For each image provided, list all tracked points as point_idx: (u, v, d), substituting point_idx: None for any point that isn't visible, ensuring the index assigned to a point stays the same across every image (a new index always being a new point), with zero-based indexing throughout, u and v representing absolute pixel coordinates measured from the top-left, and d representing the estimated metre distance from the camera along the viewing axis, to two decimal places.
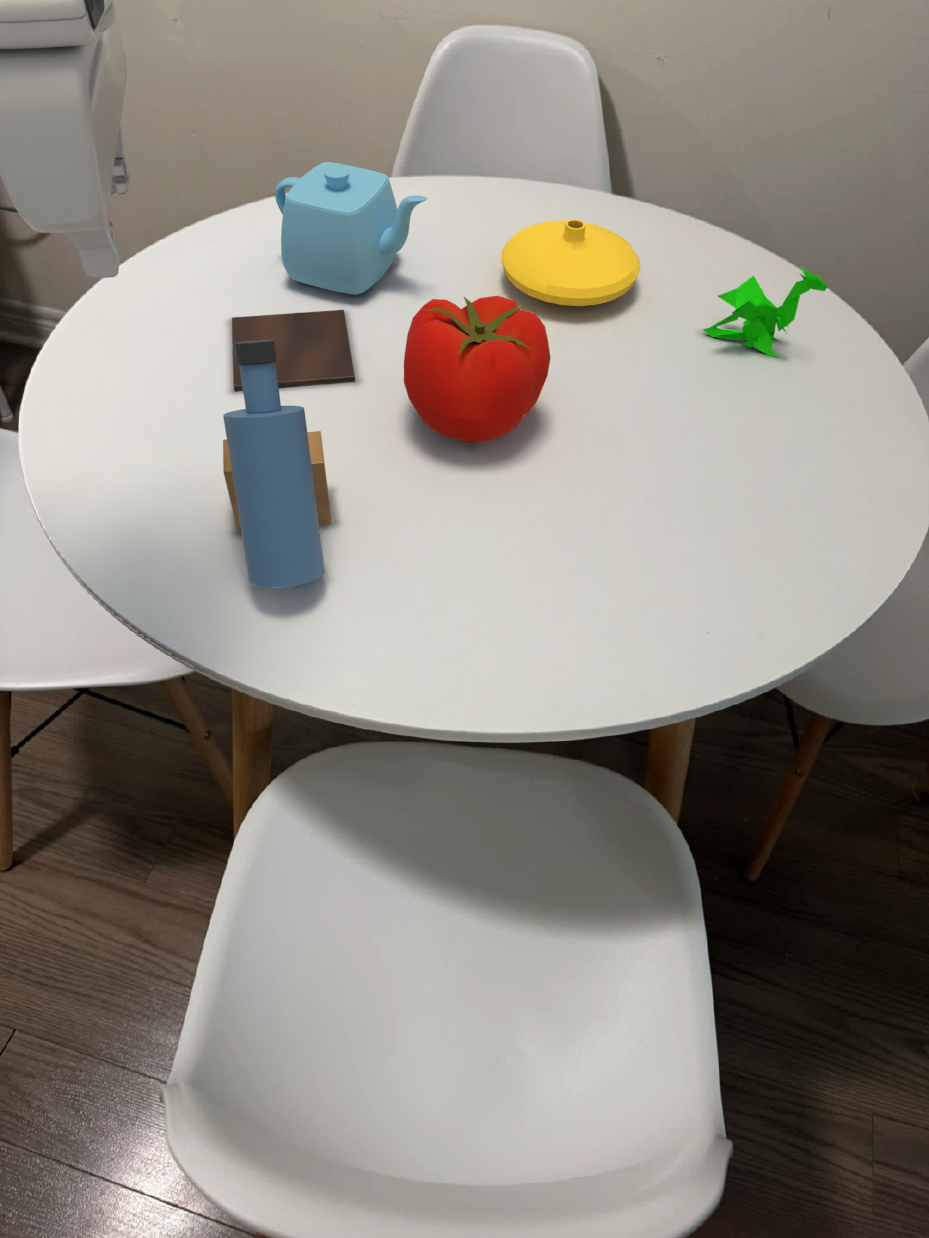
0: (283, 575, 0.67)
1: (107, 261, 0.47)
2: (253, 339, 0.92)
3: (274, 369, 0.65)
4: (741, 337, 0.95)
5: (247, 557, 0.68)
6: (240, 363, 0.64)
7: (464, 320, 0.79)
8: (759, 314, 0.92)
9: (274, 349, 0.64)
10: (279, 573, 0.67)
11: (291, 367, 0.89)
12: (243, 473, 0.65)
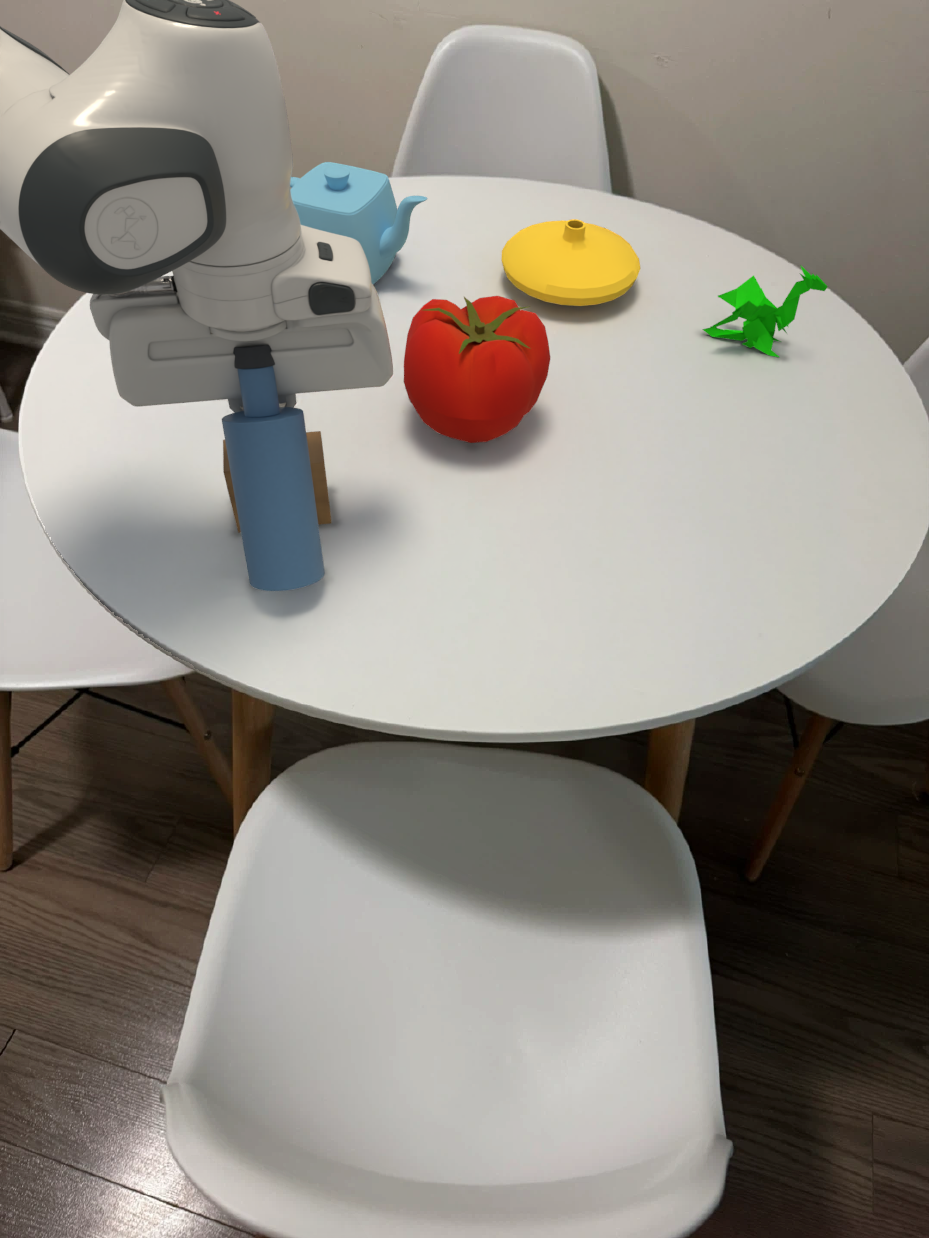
0: (283, 579, 0.67)
1: None
2: None
3: (273, 372, 0.64)
4: (741, 337, 0.95)
5: (247, 560, 0.68)
6: (238, 367, 0.63)
7: (464, 320, 0.79)
8: (759, 314, 0.92)
9: None
10: (279, 577, 0.67)
11: None
12: (242, 478, 0.65)
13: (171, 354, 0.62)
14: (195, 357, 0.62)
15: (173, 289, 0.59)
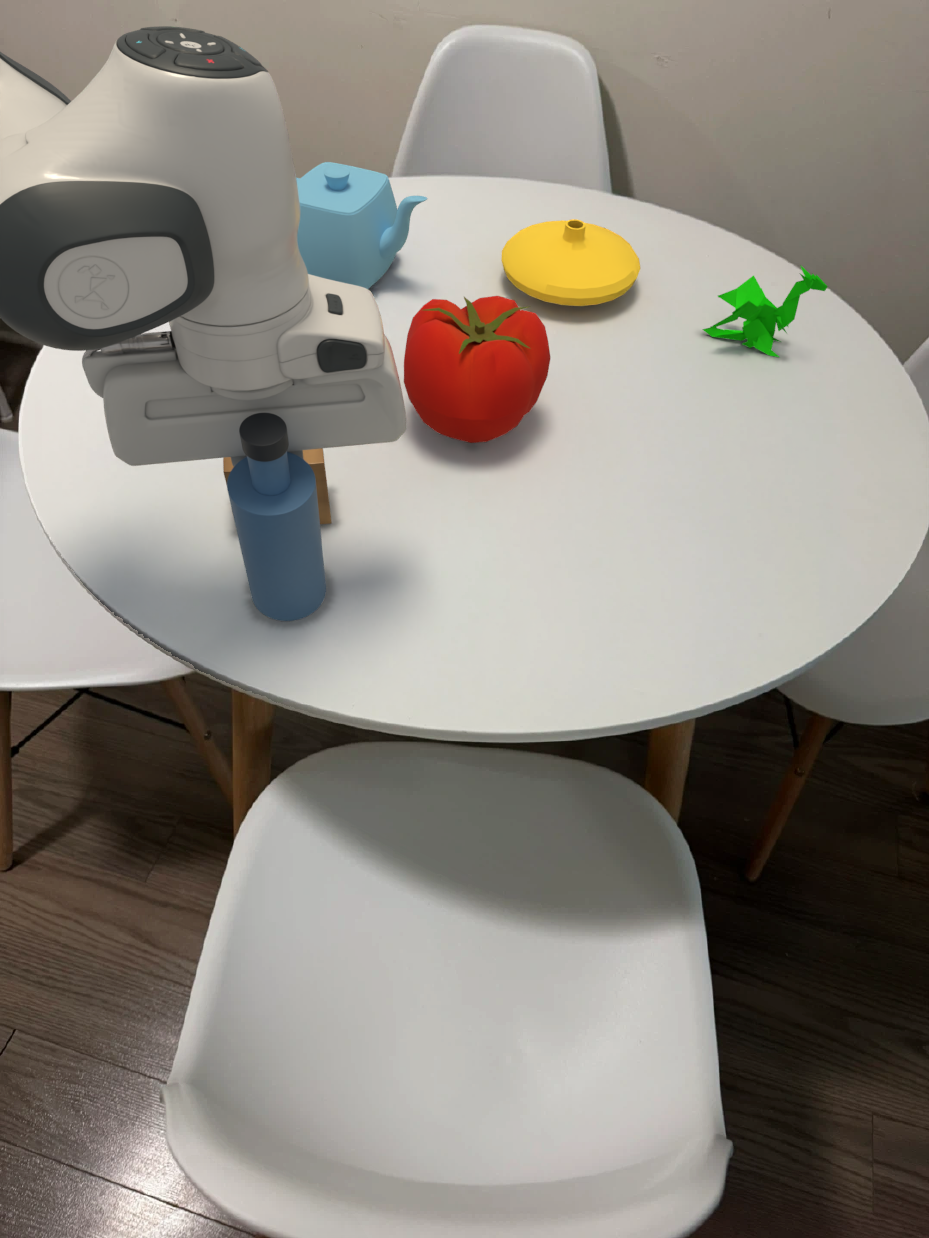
0: (289, 614, 0.69)
1: None
2: None
3: (285, 454, 0.58)
4: (741, 337, 0.95)
5: (251, 590, 0.68)
6: (248, 456, 0.57)
7: (464, 320, 0.79)
8: (759, 314, 0.92)
9: (286, 440, 0.57)
10: (284, 613, 0.69)
11: None
12: (250, 546, 0.62)
13: (170, 413, 0.58)
14: (196, 415, 0.58)
15: (172, 346, 0.55)
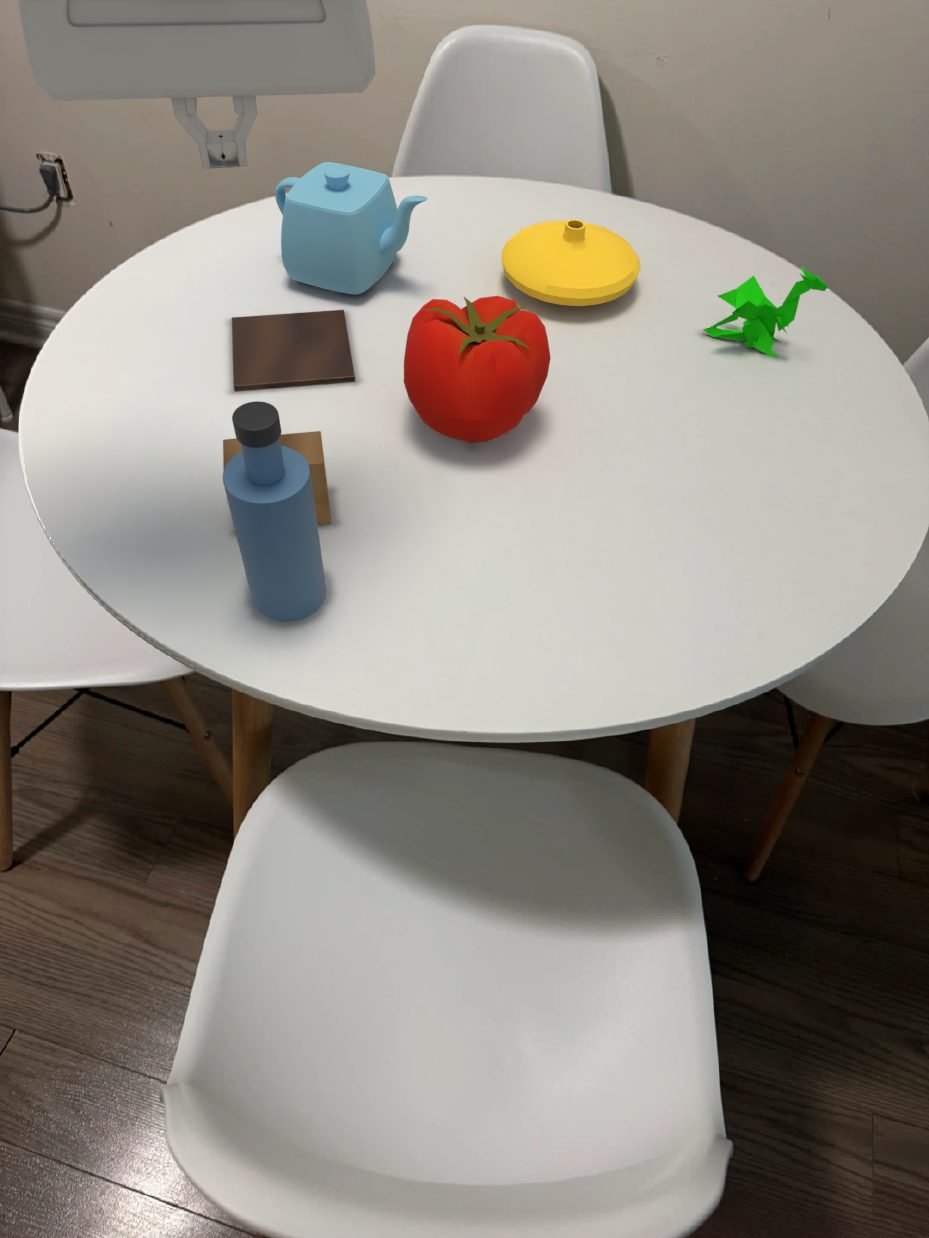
0: (289, 613, 0.69)
1: None
2: (253, 339, 0.92)
3: (278, 442, 0.59)
4: (741, 337, 0.95)
5: (251, 590, 0.69)
6: (241, 443, 0.58)
7: (464, 320, 0.79)
8: (759, 314, 0.92)
9: (278, 426, 0.58)
10: (284, 612, 0.69)
11: (291, 367, 0.89)
12: (247, 539, 0.63)
13: (97, 20, 0.50)
14: (128, 25, 0.50)
15: None
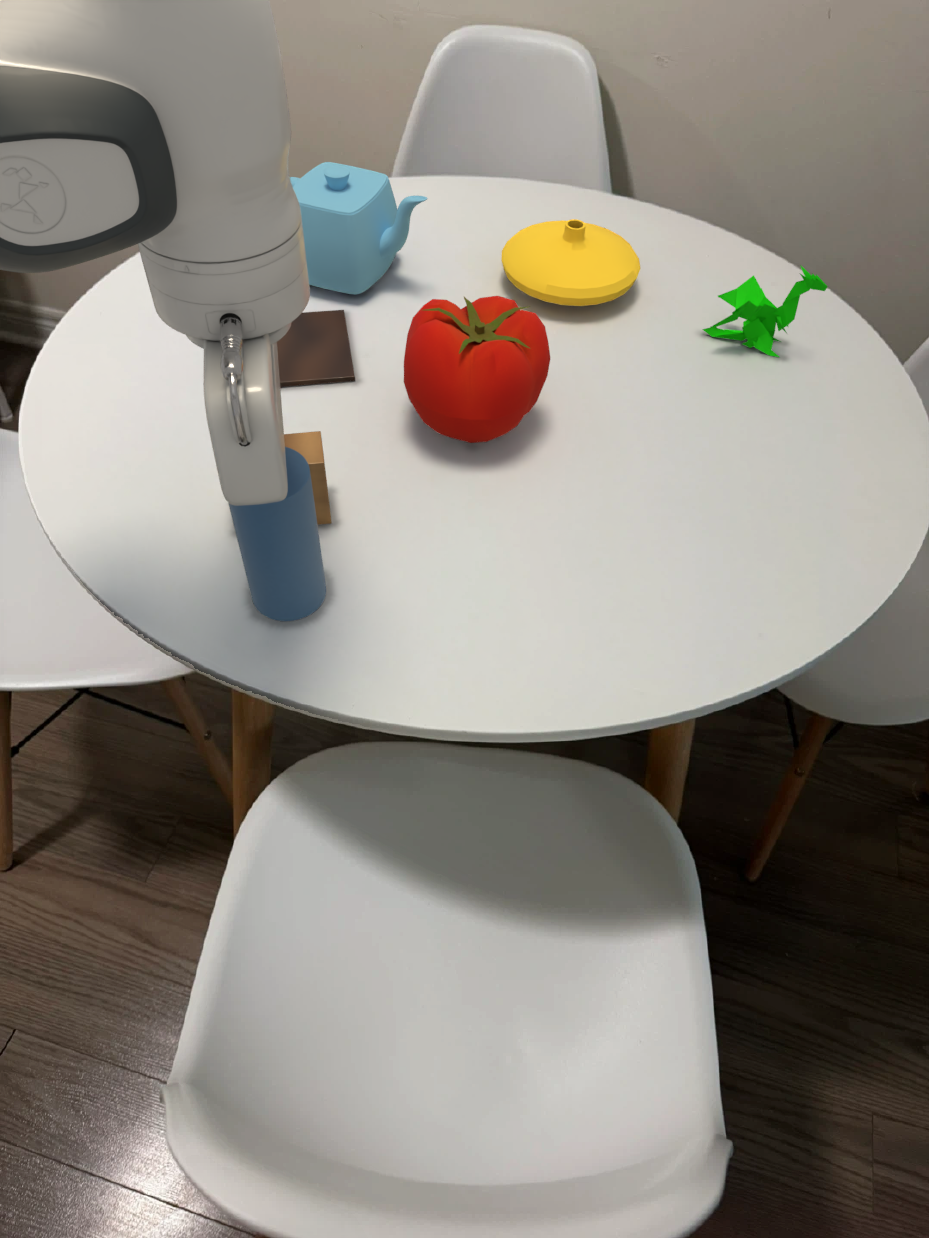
0: (289, 613, 0.69)
1: None
2: None
3: None
4: (741, 337, 0.95)
5: (251, 590, 0.69)
6: None
7: (464, 320, 0.79)
8: (759, 314, 0.92)
9: None
10: (284, 612, 0.69)
11: (291, 367, 0.89)
12: (247, 539, 0.63)
13: None
14: (273, 389, 0.51)
15: (241, 326, 0.47)
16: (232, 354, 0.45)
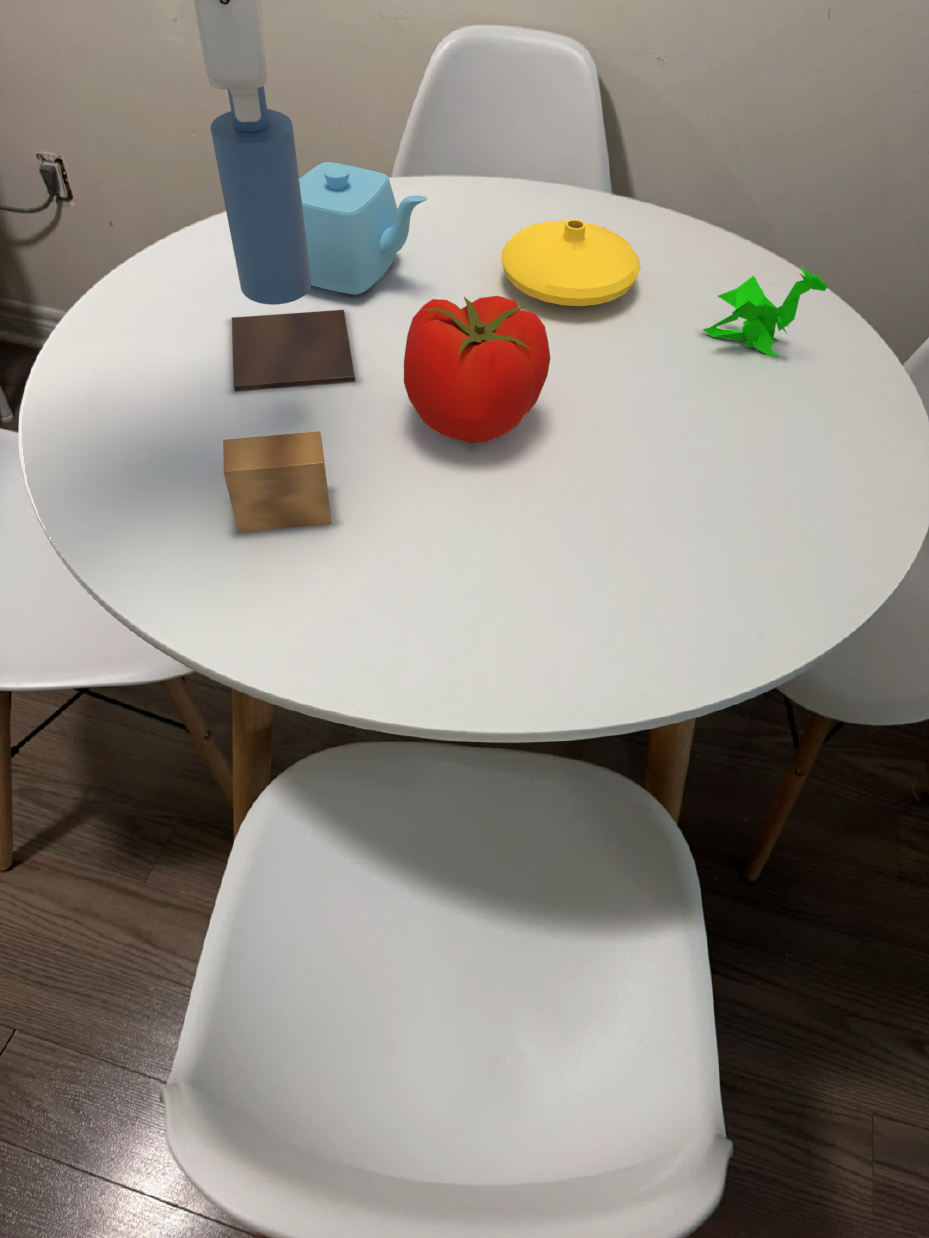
0: (275, 294, 0.73)
1: None
2: (253, 339, 0.92)
3: None
4: (741, 337, 0.95)
5: (239, 271, 0.73)
6: None
7: (464, 320, 0.79)
8: (759, 314, 0.92)
9: None
10: (270, 292, 0.73)
11: (291, 367, 0.89)
12: (234, 196, 0.67)
13: None
14: None
15: None
16: None
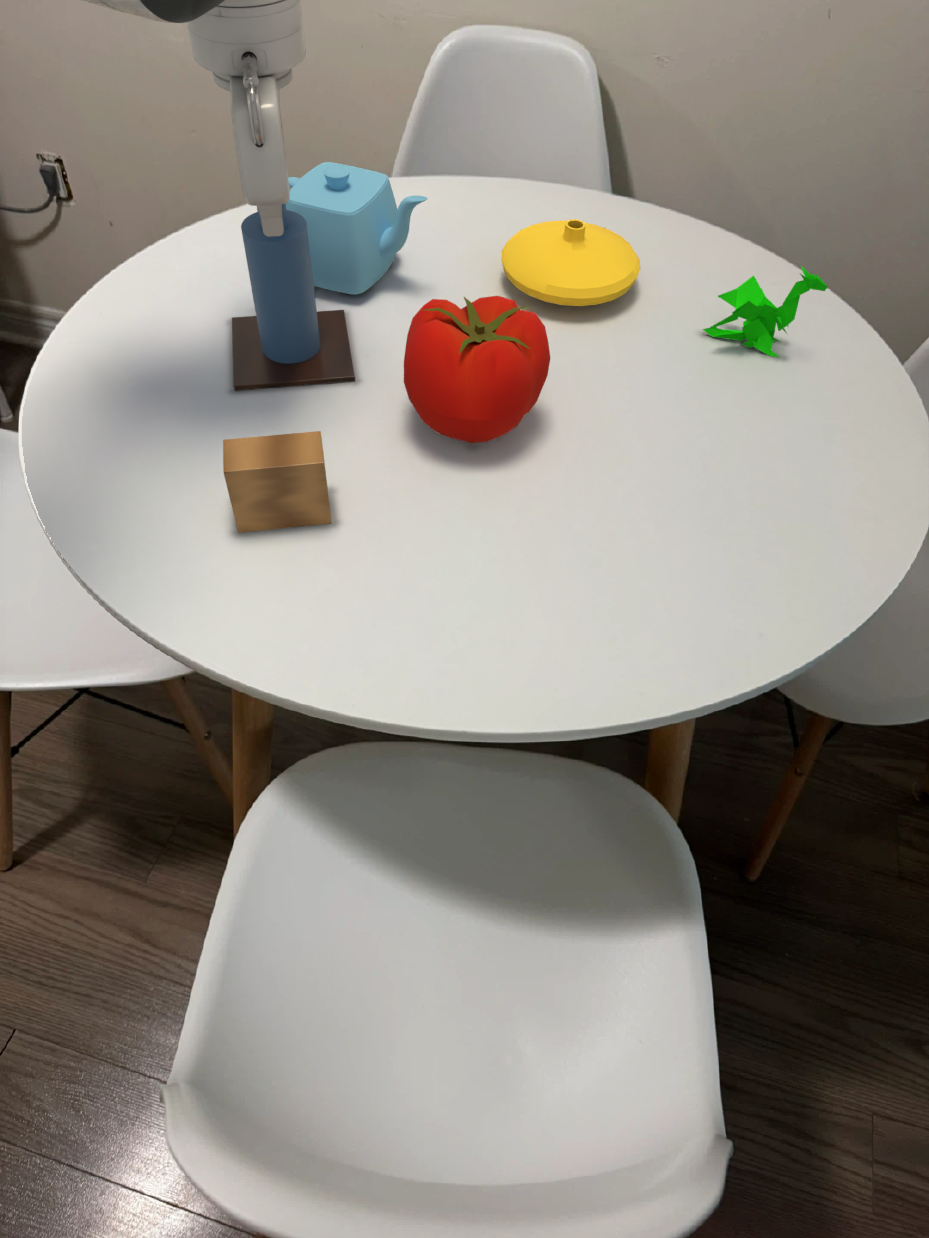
0: (290, 356, 0.89)
1: None
2: (253, 339, 0.92)
3: None
4: (741, 337, 0.95)
5: (261, 336, 0.88)
6: None
7: (464, 320, 0.79)
8: (759, 314, 0.92)
9: None
10: (287, 354, 0.88)
11: (291, 367, 0.89)
12: (259, 280, 0.82)
13: None
14: None
15: (256, 63, 0.67)
16: (251, 71, 0.64)
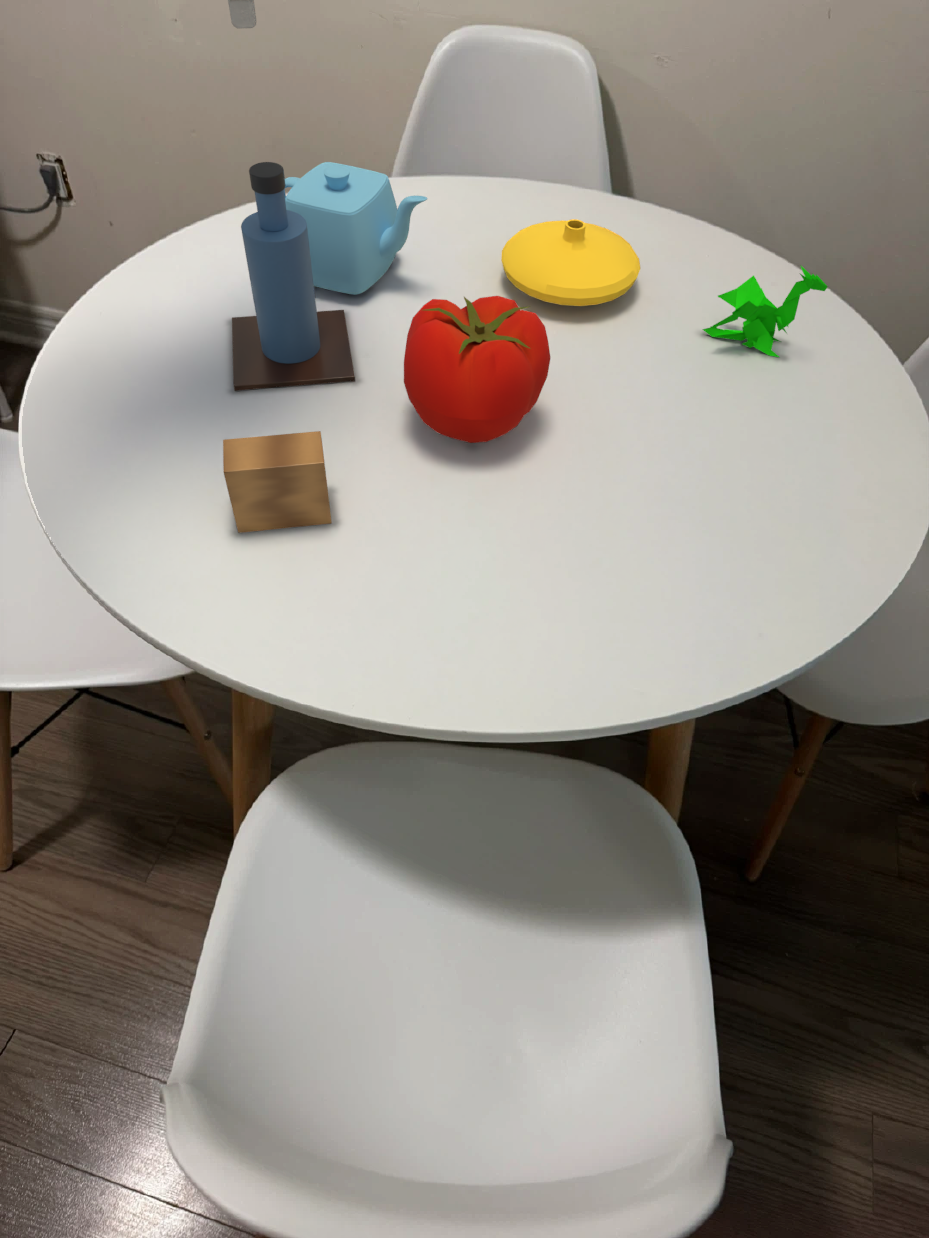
0: (290, 356, 0.89)
1: None
2: (253, 339, 0.92)
3: (283, 194, 0.78)
4: (741, 337, 0.95)
5: (261, 336, 0.88)
6: (256, 191, 0.77)
7: (464, 320, 0.79)
8: (759, 314, 0.92)
9: (283, 178, 0.77)
10: (287, 354, 0.88)
11: (291, 367, 0.89)
12: (259, 280, 0.82)
13: None
14: None
15: None
16: None
